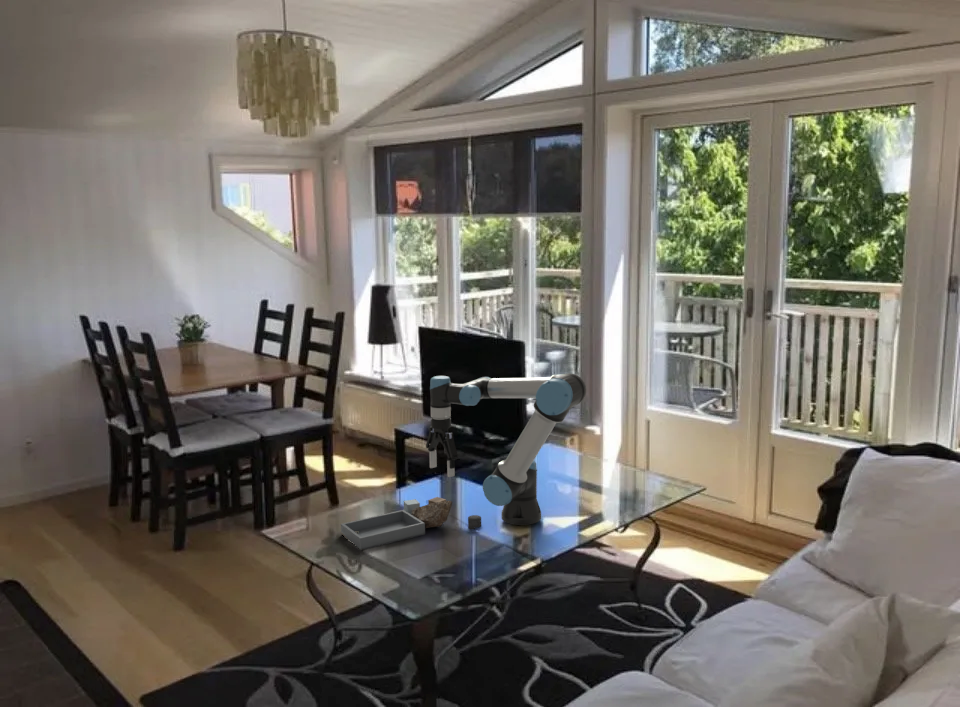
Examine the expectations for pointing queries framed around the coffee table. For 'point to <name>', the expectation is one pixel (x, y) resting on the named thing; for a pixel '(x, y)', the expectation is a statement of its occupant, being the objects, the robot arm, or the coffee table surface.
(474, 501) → the coffee table surface
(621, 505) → the coffee table surface
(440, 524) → the rock
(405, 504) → the bluegrey block
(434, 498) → the walnut cube
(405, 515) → the grey tray
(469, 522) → the dark grey cylinder
